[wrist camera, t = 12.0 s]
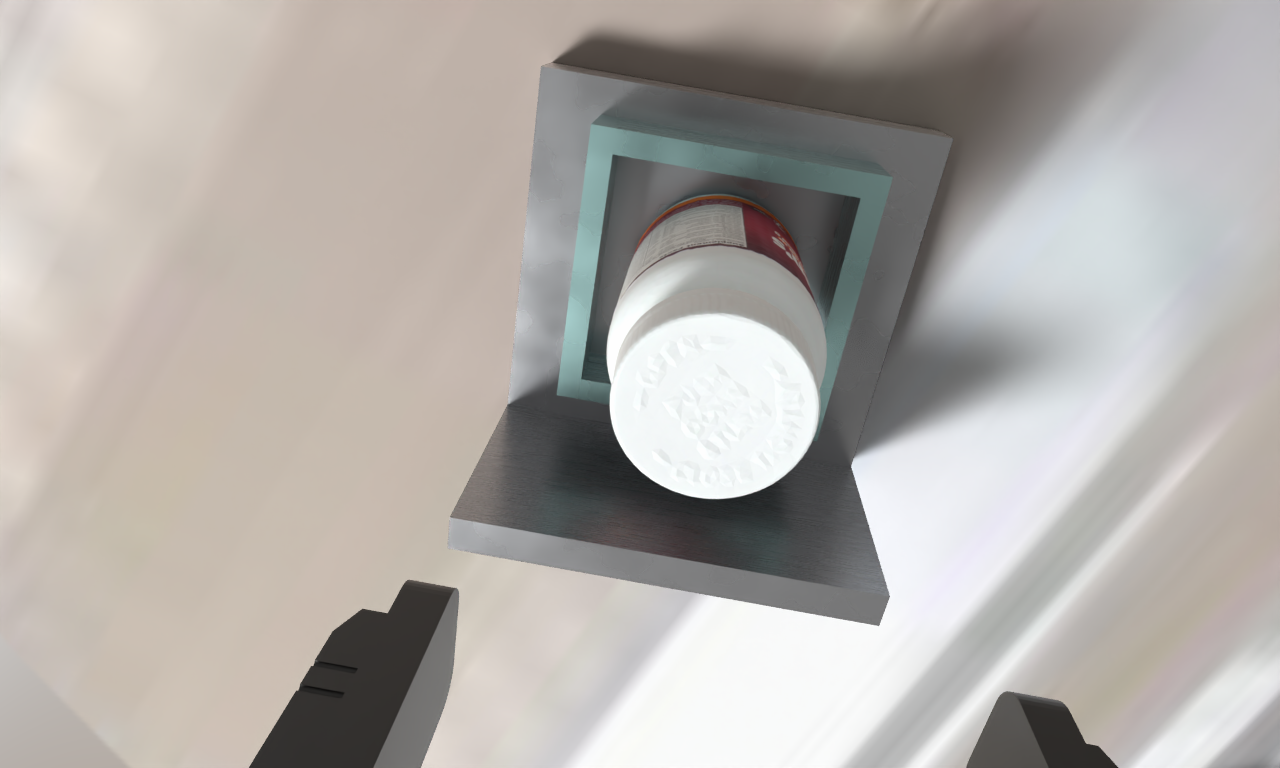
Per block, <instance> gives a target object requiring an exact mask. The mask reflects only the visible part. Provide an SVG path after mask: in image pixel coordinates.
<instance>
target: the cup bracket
mask: <svg viewBox="0 0 1280 768" xmlns="http://www.w3.org/2000/svg"><path fill="white" fill-rule="evenodd" d="M952 142H953V138H951V137H950V136H948V135H946V134H944V133H942V132H941V131H939V130H934V129H928V128H922V127H917V126H911V125H905V124H900V123H894V122H888V121H883V120H877V119H871V118H866V117H860V116H854V115H848V114H843V113H837V112H831V111H826V110H820V109H814V108H809V107H803V106H797V105H792V104H786V103H780V102H774V101H769V100H763V99H757V98H752V97H746V96H740V95H735V94H729V93H723V92H718V91H712V90H706V89H700V88H695V87H689V86H683V85H678V84H672V83H666V82H661V81H655V80H649V79H644V78H638V77H632V76H626V75H621V74H615V73H609V72H604V71H598V70H592V69H587V68H581V67H575V66H570V65H564V64H558V63H549V64H546V65H543V66H541V74H540V84H539V94H538V104H537V114H536V124H535V134H534V144H533V154H532V165H531V175H530V185H529V195H528V205H527V215H526V225H525V235H524V245H523V255H522V265H521V276H520V286H519V296H518V306H517V316H516V326H515V336H514V346H513V356H512V366H511V377H510V387H509V397H508V405H507V407H506V409H505V411H504V413H503V415H502V417H501V419H500V421H499V423H498V425H497V427H496V429H495V431H494V433H493V434H492V436H491V438H490V440H489V442H488V444H487V446H486V448H485V450H484V452H483V454H482V456H481V458H480V460H479V462H478V464H477V466H476V468H475V470H474V471H473V473H472V475H471V477H470V479H469V481H468V483H467V485H466V487H465V489H464V491H463V493H462V495H461V497H460V499H459V501H458V503H457V505H456V506H455V508H454V510H453V512H452V514H451V516H450V523H449V537H448V548H449V549H455V550H460V551H466V552H471V553H477V554H483V555H488V556H494V557H499V558H505V559H510V560H516V561H521V562H527V563H533V564H538V565H544V566H549V567H555V568H560V569H566V570H571V571H577V572H583V573H588V574H594V575H599V576H605V577H610V578H616V579H621V580H627V581H633V582H638V583H644V584H649V585H655V586H660V587H666V588H671V589H677V590H683V591H688V592H694V593H699V594H705V595H710V596H716V597H721V598H727V599H733V600H738V601H744V602H749V603H755V604H760V605H766V606H771V607H777V608H783V609H788V610H794V611H799V612H805V613H810V614H816V615H821V616H827V617H833V618H838V619H844V620H849V621H855V622H860V623H866V624H871V625H877V626H879V625H880V622H881V619H882V616H883V614H884V611H885V608H886V605H887V603H888V600H889V597H890V596H889V592H888V589H887V585H886V582H885V579H884V575H883V572H882V569H881V565H880V562H879V559H878V555H877V552H876V549H875V545H874V542H873V539H872V535H871V532H870V528H869V525H868V522H867V518H866V515H865V512H864V508H863V505H862V502H861V498H860V495H859V492H858V488H857V485H856V481H855V478H854V475H853V471H852V468H851V465H852V461H853V458H854V455H855V452H856V449H857V445H858V442H859V439H860V436H861V433H862V429H863V426H864V423H865V420H866V417H867V413H868V410H869V407H870V404H871V401H872V397H873V394H874V391H875V388H876V385H877V382H878V378H879V375H880V372H881V369H882V366H883V362H884V359H885V356H886V353H887V350H888V346H889V343H890V340H891V337H892V334H893V330H894V327H895V324H896V321H897V318H898V314H899V311H900V308H901V305H902V302H903V298H904V295H905V292H906V289H907V286H908V282H909V279H910V276H911V273H912V270H913V266H914V263H915V260H916V257H917V254H918V250H919V247H920V244H921V241H922V238H923V235H924V231H925V228H926V225H927V222H928V219H929V215H930V212H931V209H932V206H933V203H934V199H935V196H936V193H937V190H938V187H939V183H940V180H941V177H942V174H943V171H944V167H945V164H946V161H947V158H948V155H949V151H950V148H951V145H952ZM708 194H728V195H734V196H738V197H742V198H745V199H748V200H750V201H753V202H755V203H757V204H759V205H761V206H762V207H764V208H765V209H767V210H768V211H770V212H771V213H772V214H773V215H774V216H776V217H777V218H778V219H779V220H780V221H781V222H782V224H783V225H784V226H785V227H786V229H787V230H788V232H789V233H790V235H791V237H792V239H793V240H794V243H795V245H796V247H797V250H798V253H799V255H800V258H801V261H802V263H803V266H804V270H805V273H806V275H807V279H808V282H809V285H810V289H811V291H812V294H813V297H814V300H815V303H816V305H817V307H818V309H819V312H820V315H821V319H822V323H823V327H824V332H825V336H826V347H827V360H826V369H825V374H824V378H823V381H822V384H821V387H820V390H819V391H820V400H821V408H820V417H819V423H818V427H817V430H816V433H815V436H814V438H813V441H812V443H811V445H810V446H809V448H808V450H807V452H806V453H805V455H804V456H803V458H802V459H801V460H800V461H799V462H798V464H797V465H796V466H795V467H794V468H793V469H792V470H791V471H789V472H788V473H787V474H786V475H785V476H783V477H782V478H781V479H779V480H778V481H777V482H775V483H774V484H772V485H770V486H768V487H766V488H764V489H761V490H759V491H757V492H753V493H751V494H747V495H744V496H739V497H734V498H725V499H706V498H698V497H691V496H687V495H684V494H681V493H678V492H675V491H672V490H670V489H668V488H666V487H664V486H661V485H660V484H658V483H656V482H654V481H653V480H651V479H650V478H649V477H647V476H646V475H645V474H643V473H642V472H641V471H640V470H639V469H638V468H637V467H636V466H635V465H634V464H633V463H632V462H631V460H630V459H629V458H628V457H627V455H626V454H625V452H624V451H623V449H622V447H621V445H620V444H619V442H618V440H617V437H616V435H615V432H614V429H613V425H612V421H611V415H610V391H611V385H612V384H611V381H610V377H609V373H608V367H607V340H608V334H609V329H610V325H611V321H612V318H613V314H614V310H615V308H616V306H617V303H618V299H619V296H620V293H621V290H622V287H623V284H624V281H625V278H626V275H627V272H628V269H629V266H630V263H631V260H632V258H633V255H634V253H635V250H636V248H637V245H638V243H639V241H640V239H641V237H642V236H643V234H644V233H645V231H646V230H647V228H648V227H649V226H650V225H651V224H652V222H653V221H654V220H655V219H656V218H657V217H658V216H660V215H661V214H662V213H663V212H664V211H666V210H667V209H669V208H670V207H672V206H674V205H675V204H677V203H679V202H681V201H684V200H686V199H689V198H693V197H696V196H700V195H708Z"/></svg>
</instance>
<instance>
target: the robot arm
mask: <svg viewBox="0 0 1280 768" xmlns="http://www.w3.org/2000/svg"><path fill="white" fill-rule="evenodd" d="M458 604H459V591H458V589H457V588H451V587H446V586H440V585H435V584H429V583H424V582H419V581H413V580H407V581H406V582H405V583H404V585H403V587H402V588H401V590H400V592H399V594H398V596H397V597H396V599H395V601H394V603H393V605H392V607H391V608H390V610H389V612H388V613H382V612H377V611H371V610H366V609H362V610H360V611H359V612H358V613H356V614H355V615H354V616H352V617H351V618H350V619H348V620H347V621H346V622H344V623H343V624H342V625H341V626H339V627H338V628H337V629H335V630H334V631H333V632H332V633H331V635H330V637H329V638H328V640H327V642H326V643H325V645H324V646H323V648H322V650H321V651H320V653H319V655H318V656H317V658H316V659H315V663H314V666H311V668H310V669H309V671H308V672H307V674H306V676H305V677H304V679H303V681H302V682H301V684H300V688H299V690H298V691H296V692H295V694H294V695H293V697H292V698H291V700H290V702H289V703H288V705H287V707H286V708H285V710H284V711H283V713H282V715H281V716H280V718H279V720H278V721H277V723H276V724H275V726H274V728H273V729H272V731H271V733H270V734H269V736H268V737H267V739H266V741H265V742H264V744H263V746H262V747H261V749H260V750H259V752H258V754H257V755H256V757H255V759H254V760H253V762H252V763H251V765H250V767H249V768H421V766H422V763H423V760H424V758H425V755H426V753H427V750H428V748H429V745H430V742H431V740H432V737H433V735H434V732H435V730H436V727H437V724H438V722H439V719H440V717H441V714H442V712H443V709H444V706H445V703H446V699H447V696H448V692H449V688H450V683H451V679H452V673H453V665H454V653H455V641H456V629H457V616H458ZM966 768H1118V767H1117V766H1116V765H1115V764H1114V763H1113V761H1112V760H1111V759H1110V758H1109V757H1108V756H1107V755H1106V754H1105V753H1104V752H1103V751H1102V750H1101V748H1100V747H1099V746H1095V745H1090V744H1086V743H1085V741H1084V739H1083V737H1082V735H1081V733H1080V731H1079V729H1078V727H1077V725H1076V723H1075V721H1074V719H1073V717H1072V715H1071V713H1070V711H1069V710H1068V708H1067V707H1066V705H1065V704H1063V703H1062V702H1061V701H1058V700H1053V699H1047V698H1042V697H1036V696H1031V695H1025V694H1020V693H1015V692H1004V693H1003V694H1001V695H1000V697H999V698H998V700H997V701H996V703H995V706H994V708H993V710H992V712H991V714H990V716H989V718H988V721H987V723H986V725H985V727H984V729H983V731H982V733H981V736H980V738H979V740H978V742H977V744H976V746H975V748H974V751H973V753H972V755H971V757H970V759H969V761H968V764H967V767H966Z"/></svg>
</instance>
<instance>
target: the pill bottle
mask: <svg viewBox="0 0 1280 768" xmlns="http://www.w3.org/2000/svg"><path fill="white" fill-rule="evenodd" d="M826 360H827V347H826V336H825V332H824V327H823V323H822V319H821V315H820V312H819V309H818V307H817V305H816V303H815V300H814V297H813V294H812V291H811V289H810V285H809V282H808V279H807V275H806V273H805V270H804V266H803V263H802V261H801V258H800V255H799V253H798V250H797V247H796V245H795V243H794V240H793V239H792V237H791V235H790V233H789V232H788V230H787V229H786V227H785V226H784V225H783V224H782V222H781V221H780V220H779V219H778V218H777V217H776V216H774V215H773V214H772V213H771V212H770V211H768V210H767V209H765V208H764V207H762V206H761V205H759V204H757V203H755V202H753V201H750V200H748V199H745V198H742V197H738V196H734V195H728V194H708V195H700V196H696V197H693V198H689V199H686V200H684V201H681V202H679V203H677V204H675V205H674V206H672V207H670V208H669V209H667V210H666V211H664V212H663V213H662V214H661V215H660V216H658V217H657V218H656V219H655V220H654V221H653V222H652V224H651V225H650V226H649V227H648V228H647V230H646V231H645V233H644V234H643V236H642V237H641V239H640V241H639V243H638V245H637V248H636V250H635V253H634V255H633V258H632V260H631V263H630V266H629V269H628V272H627V275H626V278H625V281H624V284H623V287H622V290H621V293H620V296H619V299H618V303H617V306H616V308H615V310H614V314H613V318H612V321H611V325H610V329H609V334H608V340H607V367H608V373H609V377H610V381H611V384H612V385H611V391H610V415H611V421H612V425H613V429H614V432H615V435H616V437H617V440H618V442H619V444H620V445H621V447H622V449H623V451H624V452H625V454H626V455H627V457H628V458H629V459H630V460H631V462H632V463H633V464H634V465H635V466H636V467H637V468H638V469H639V470H640V471H641V472H642V473H643V474H645V475H646V476H647V477H649V478H650V479H651V480H653V481H654V482H656V483H658V484H660V485H661V486H664V487H666V488H668V489H670V490H672V491H675V492H678V493H681V494H684V495H687V496H691V497H698V498H706V499H725V498H734V497H739V496H744V495H747V494H751V493H753V492H757V491H759V490H761V489H764V488H766V487H768V486H770V485H772V484H774V483H775V482H777V481H778V480H779V479H781V478H782V477H783V476H785V475H786V474H787V473H788V472H789V471H791V470H792V469H793V468H794V467H795V466H796V465H797V464H798V462H799V461H800V460H801V459H802V458H803V456H804V455H805V453H806V452H807V450H808V448H809V446H810V445H811V443H812V441H813V438H814V436H815V433H816V430H817V427H818V423H819V417H820V408H821V400H820V391H819V390H820V387H821V384H822V381H823V378H824V374H825V369H826Z"/></svg>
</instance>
